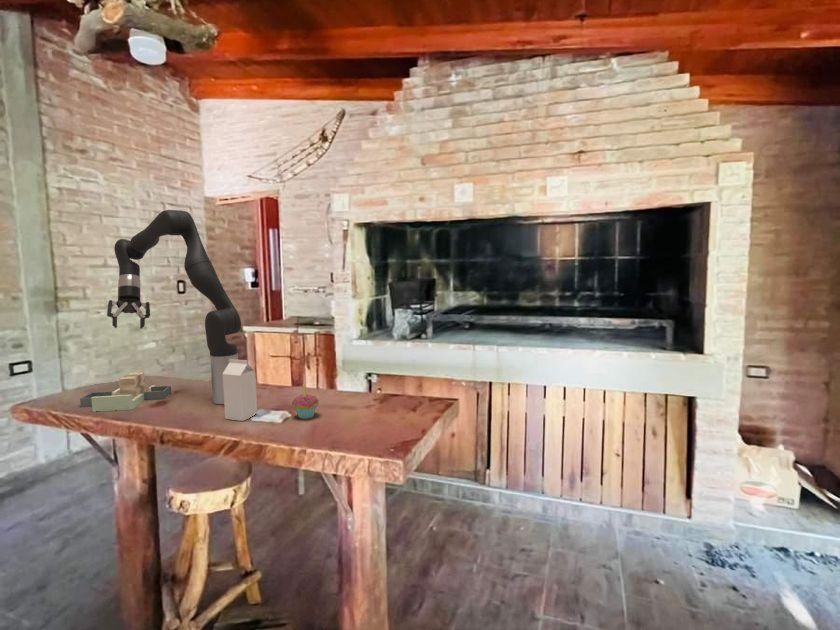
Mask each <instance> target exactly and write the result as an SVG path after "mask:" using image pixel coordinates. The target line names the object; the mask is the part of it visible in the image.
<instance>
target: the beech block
mask: <svg viewBox="0 0 840 630" xmlns="http://www.w3.org/2000/svg"><path fill="white" fill-rule="evenodd" d="M118 380H119V381H118V382H119V383H118V384H119V388H120V395H132V399H134V398H135V397H136V396H138V395H139V394H144V392H147V391H146V379H145V372H144V371H143V372H141V371H139V372H129V373H128V374H126V375H124V376H122V377H121V378H119V379H118Z"/></svg>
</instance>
